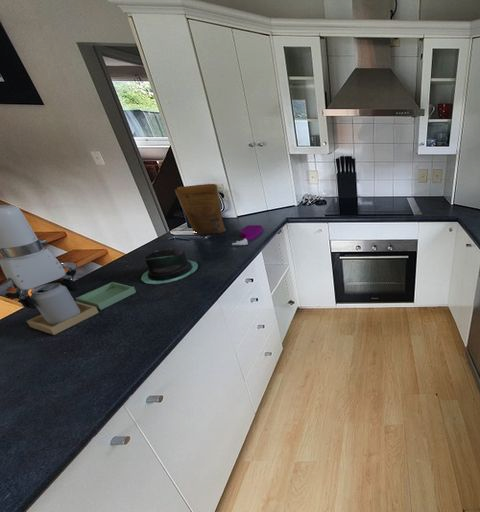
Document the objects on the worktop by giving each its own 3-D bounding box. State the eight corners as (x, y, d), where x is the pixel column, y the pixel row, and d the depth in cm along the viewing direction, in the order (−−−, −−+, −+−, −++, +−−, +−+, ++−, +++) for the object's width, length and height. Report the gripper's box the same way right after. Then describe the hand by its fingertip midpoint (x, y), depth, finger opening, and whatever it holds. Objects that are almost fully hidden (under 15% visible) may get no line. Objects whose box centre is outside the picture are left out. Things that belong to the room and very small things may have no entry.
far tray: (78, 303, 96) (75, 298, 95) (115, 287, 106) (112, 281, 105) (100, 310, 93) (97, 304, 92) (136, 292, 103) (133, 286, 102)
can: (41, 323, 86) (20, 292, 81) (71, 309, 92) (52, 279, 87) (59, 328, 84) (37, 296, 79) (87, 313, 91) (69, 282, 86)
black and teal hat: (137, 288, 104) (136, 269, 117) (194, 293, 117) (187, 275, 131) (149, 252, 102) (147, 237, 116) (205, 261, 116) (197, 247, 129)
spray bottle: (264, 229, 164) (251, 246, 142) (245, 229, 163) (229, 247, 141) (263, 224, 163) (250, 241, 141) (244, 225, 162) (228, 242, 140)
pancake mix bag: (227, 233, 157) (215, 184, 145) (189, 237, 151) (173, 186, 138) (229, 229, 163) (217, 182, 150) (191, 233, 156) (176, 184, 144)
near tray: (30, 327, 85) (26, 321, 84) (76, 306, 95) (73, 300, 94) (54, 335, 82) (50, 328, 81) (99, 312, 92) (95, 306, 91)
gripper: (53, 236, 86) (79, 282, 93) (-35, 260, 71) (4, 313, 78) (69, 239, 84) (94, 286, 91) (-19, 264, 69) (20, 318, 77)
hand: (53, 298), depth 85 cm, fingers open, 9 cm apart
